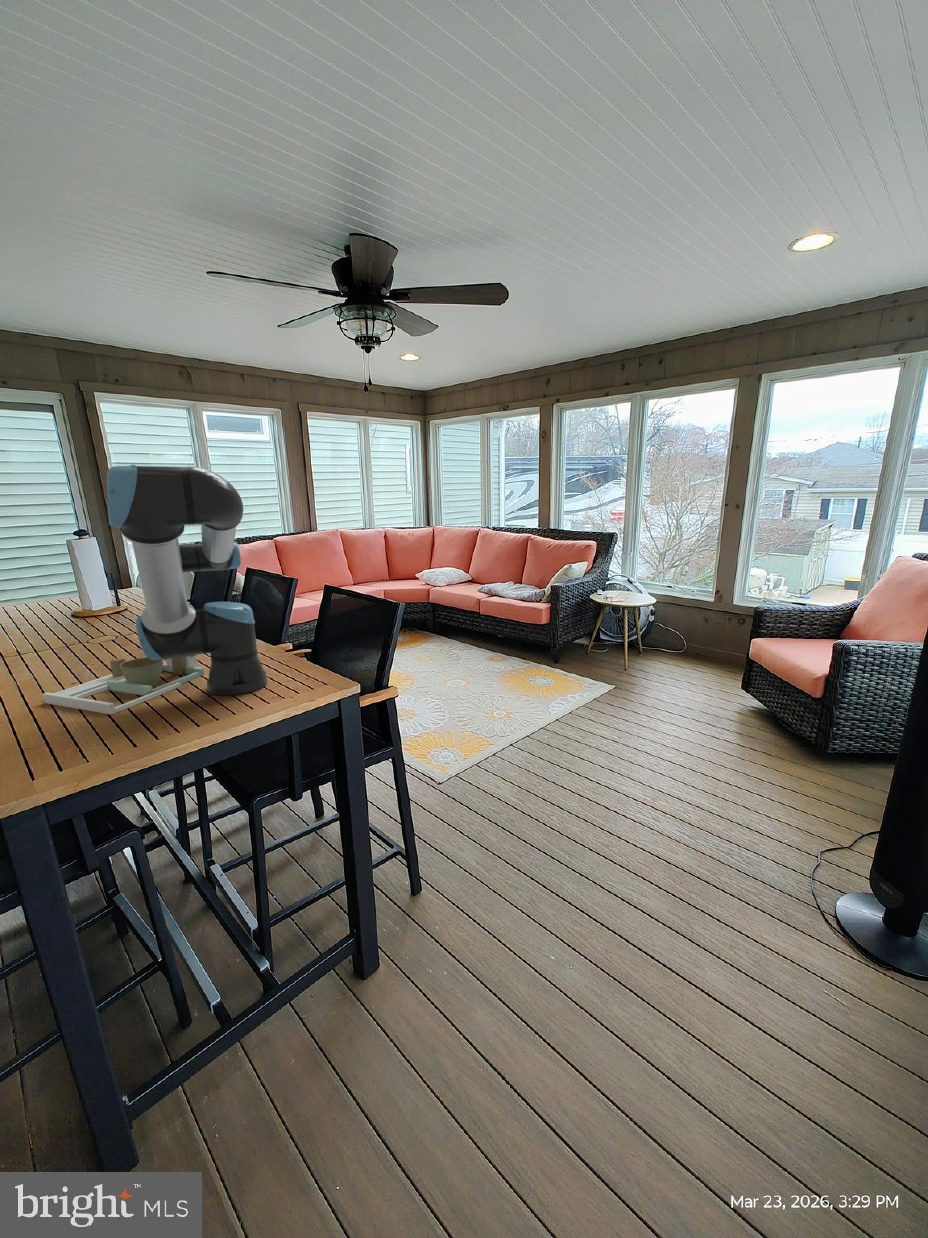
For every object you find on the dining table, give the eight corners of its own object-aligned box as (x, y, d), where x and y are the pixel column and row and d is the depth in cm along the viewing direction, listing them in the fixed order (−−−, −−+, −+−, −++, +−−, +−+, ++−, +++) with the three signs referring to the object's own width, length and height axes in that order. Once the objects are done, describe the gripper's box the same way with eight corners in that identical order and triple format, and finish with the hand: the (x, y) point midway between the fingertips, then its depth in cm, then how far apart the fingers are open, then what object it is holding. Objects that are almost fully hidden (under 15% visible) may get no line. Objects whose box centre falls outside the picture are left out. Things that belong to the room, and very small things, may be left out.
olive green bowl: (145, 695, 134) (141, 669, 132) (114, 692, 136) (110, 666, 134) (174, 682, 143) (171, 657, 142) (145, 679, 146) (141, 655, 144)
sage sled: (207, 673, 150) (202, 640, 148) (149, 696, 133) (143, 660, 130) (168, 668, 155) (164, 636, 153) (108, 690, 138) (101, 654, 135)
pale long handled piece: (129, 678, 146) (126, 658, 145) (61, 702, 129) (57, 680, 128) (119, 677, 148) (116, 657, 146) (51, 700, 130) (46, 678, 129)
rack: (181, 686, 140) (180, 677, 139) (111, 714, 122) (109, 704, 121) (114, 676, 148) (112, 668, 147) (39, 702, 130) (37, 693, 129)
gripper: (208, 589, 146) (218, 664, 151) (155, 585, 152) (166, 658, 157) (186, 593, 139) (197, 672, 144) (132, 590, 145) (145, 665, 151)
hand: (181, 665), depth 151 cm, fingers open, 7 cm apart
